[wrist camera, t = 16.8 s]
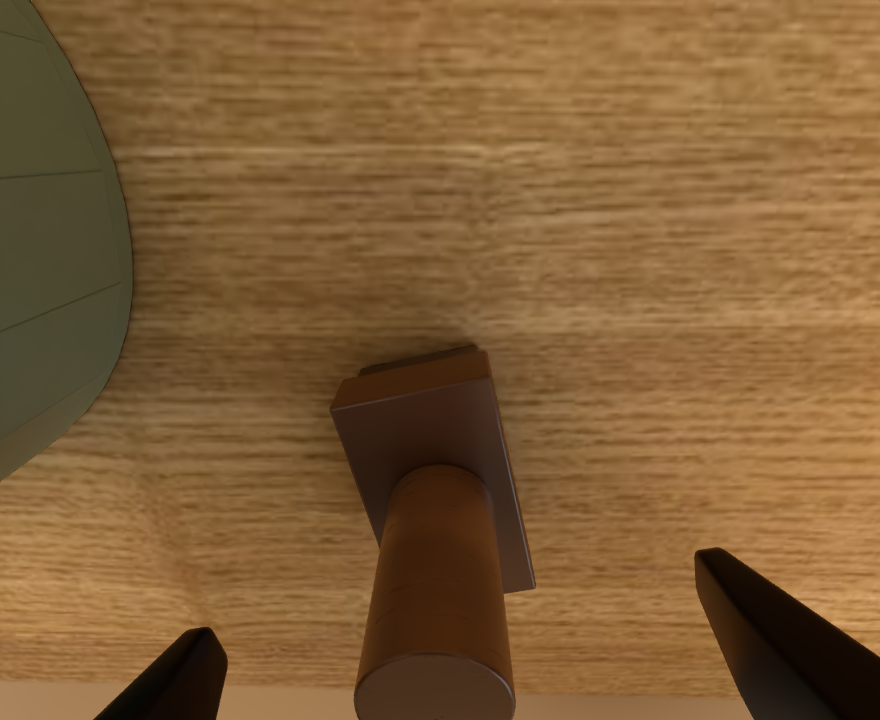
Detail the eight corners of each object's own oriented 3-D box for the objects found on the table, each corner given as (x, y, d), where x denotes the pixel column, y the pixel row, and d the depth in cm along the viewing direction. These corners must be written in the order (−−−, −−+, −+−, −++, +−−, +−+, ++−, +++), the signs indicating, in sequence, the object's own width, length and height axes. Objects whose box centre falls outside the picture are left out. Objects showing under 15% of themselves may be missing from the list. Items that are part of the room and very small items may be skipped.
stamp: (524, 520, 15) (579, 811, 8) (409, 540, 15) (376, 830, 9) (484, 333, 13) (516, 532, 6) (349, 361, 13) (247, 577, 6)
